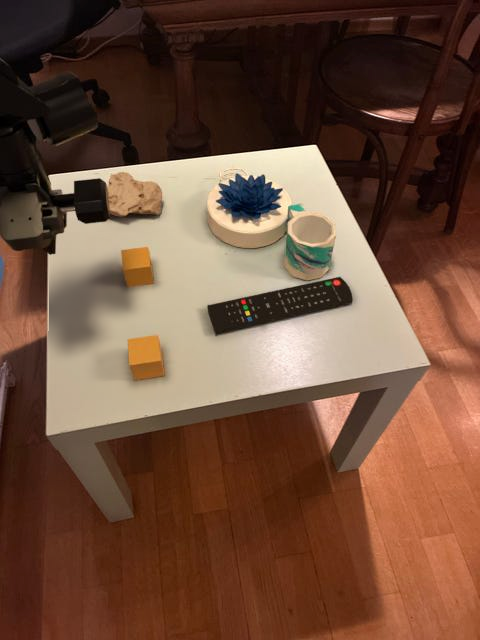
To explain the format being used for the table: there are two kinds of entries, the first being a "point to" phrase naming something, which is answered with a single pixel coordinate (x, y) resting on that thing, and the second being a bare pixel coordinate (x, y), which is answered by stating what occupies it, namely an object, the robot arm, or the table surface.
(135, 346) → the ochre block near
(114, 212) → the stone
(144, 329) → the table surface
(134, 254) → the ochre block middle
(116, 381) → the table surface
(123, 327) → the table surface
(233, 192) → the box with blue lotus
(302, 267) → the mug
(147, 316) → the table surface
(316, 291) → the remote control
